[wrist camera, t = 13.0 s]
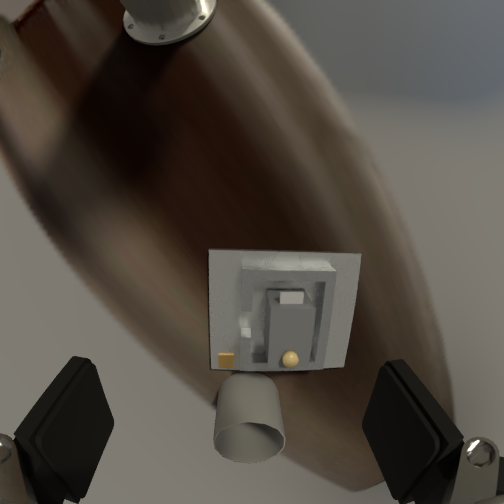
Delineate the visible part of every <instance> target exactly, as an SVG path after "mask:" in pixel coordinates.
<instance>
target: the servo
mask: <svg viewBox="0 0 504 504" xmlns="http://www.w3.org/2000/svg"><path fill="white" fill-rule="evenodd" d="M315 312H316V308H315V307H314V305H313V303H312V301H311V300H310V298H309V296H308V295H307V293H306V291H305V290H304V289H266V310H265V332H264V345H265V353H266V360H267V368H275V369H289V368H296V367H309V360H310V353H311V346H312V338H313V329H314V321H315Z"/></svg>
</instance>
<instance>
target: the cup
mask: <svg viewBox="0 0 504 504" xmlns="http://www.w3.org/2000/svg"><path fill="white" fill-rule="evenodd" d="M213 440H214V446H215V449H216V450H217V451H218V452H219V453H220V454H221V455H222V456H223V457H225V458H227V459H230V460H232V461H235V462H241V463H257V462H262V461H266V460H269V459H271V458H273V457H275V456H277V455H278V454H279V453H280V452H281V451H282V449H283V448H284V446H285V433H284V427H283V421H282V415H281V409H280V402H279V396H278V390H277V387H276V386H275V384H274V382H273V381H272V379H270V378H268V377H267V376H265V375H263V374H261V373H256V372H249V371H246V372H241V373H236V374H233V375H232V376H230V377H228V378H227V379H225V380H224V381H223V383H222V385H221V387H220V388H219V393H218V402H217V411H216V420H215V430H214V439H213Z"/></svg>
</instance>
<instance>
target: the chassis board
mask: <svg viewBox="0 0 504 504" xmlns="http://www.w3.org/2000/svg"><path fill="white" fill-rule="evenodd" d="M360 262H361V253H359V252H327V251H290V250H252V249H213V248H210V249H209V312H210V348H211V369H224V370H240V371H296V370H318V369H323V368H336V367H344V362H345V357H346V352H347V347H348V342H349V337H350V331H351V325H352V319H353V313H354V307H355V300H356V294H357V286H358V279H359V271H360ZM266 289H304V290H305V291H306V293H307V295H308V296H309V298H310V300H311V301H312V303H313V305H314V307H315V308H316V312H315V321H314V329H313V338H312V346H311V353H310V360H309V367H296V368H289V369H275V368H267V360H266V353H265V345H264V332H265V310H266Z"/></svg>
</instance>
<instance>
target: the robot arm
mask: <svg viewBox="0 0 504 504" xmlns="http://www.w3.org/2000/svg"><path fill="white" fill-rule="evenodd" d="M120 2H121V3H122V5H123V6H124V7H125V9H126V11H125V14H124V19H123V22H124V27H125V29H126V32H127V33H128V34H129V35H130V37H132V38H133V39H134V40H135V41H137V42H139V43H142V44H146V45H167V44H171V43H175V42H178V41H181V40H184V39H186V38H188V37H190V36H192V35H194V34H195V33H197V32H198V31H200V30H201V29H202V28H203V27H204V26H206V25H207V24H208V22H209V21H210V20H211V19H212V17H213V15H214V13H215V11H216V7H217V0H120ZM113 427H114V419H113V416H112V413H111V411H110V408H109V405H108V402H107V400H106V397H105V394H104V391H103V388H102V385H101V382H100V379H99V375H98V372H97V369H96V366H95V365H94V364H93V363H92V362H91V360H90V359H88V358H82V357H77V356H73V357H72V358H71V359H70V360H69V361H68V363H67V364H66V365H65V366H64V368H63V369H62V370H61V371H60V373H59V374H58V375H57V376H56V378H55V379H54V380H53V382H52V383H51V384H50V385H49V387H48V388H47V389H46V390H45V392H44V393H43V394H42V396H41V397H40V398H39V400H38V401H37V402H36V404H35V405H34V406H33V408H32V409H31V410H30V412H29V413H28V414H27V416H26V417H25V418H24V420H23V421H22V423H21V424H20V426H19V427H18V428H17V430H16V431H15V433H14V435H15V439H14V440H12V438H11V437H9V436H8V435H5V434H1V433H0V504H63V501H64V499H66V500H69V501H71V502H74V503H77V504H78V503H79V501H80V499H81V498H84V497H85V496H86V493H87V491H88V488H89V486H90V483H91V481H92V478H93V476H94V473H95V471H96V468H97V465H98V463H99V461H100V458H101V456H102V453H103V451H104V448H105V446H106V444H107V441H108V439H109V437H110V435H111V432H112V430H113ZM362 428H363V431H364V433H365V435H366V438H367V440H368V442H369V444H370V447H371V449H372V451H373V453H374V456H375V458H376V460H377V463H378V465H379V467H380V469H381V472H382V474H383V476H384V479H385V481H386V483H387V486H388V488H389V490H390V493H391V495H392V497H393V499H395V500H398V501H399V504H407V503H409V502H412V501H414V502H415V504H504V457H500V456H499V450H498V448H497V446H496V445H495V443H494V442H493V441H491V440H489V439H487V438H484V437H474V438H471V439H469V440H468V441H467V442H466V443H464V442H463V440H462V439H463V438H464V436H463V435H462V434H461V432H460V431H459V430H458V428H457V427H456V426H455V424H454V423H453V422H452V420H451V419H450V418H449V416H448V415H447V414H446V413H445V411H444V410H443V409H442V407H441V406H440V405H439V403H438V402H437V401H436V400H435V398H434V397H433V396H432V394H431V393H430V392H429V391H428V389H427V388H426V387H425V386H424V384H423V383H422V382H421V381H420V379H419V378H418V377H417V376H416V374H415V373H414V372H413V371H412V369H411V368H410V367H409V366H408V365H407V363H406V362H405V361H404V360H403V359H399V360H392V361H387V362H386V363H385V364H384V366H382V367H381V368H380V370H379V373H378V376H377V380H376V383H375V386H374V389H373V392H372V395H371V398H370V401H369V404H368V407H367V410H366V412H365V415H364V418H363V421H362Z"/></svg>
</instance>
